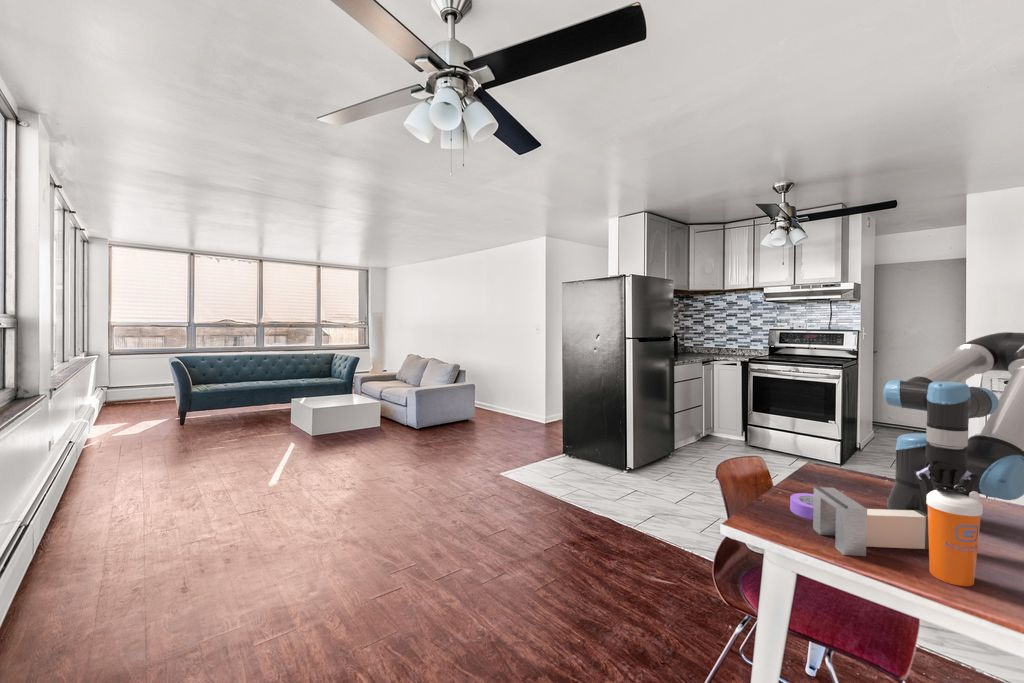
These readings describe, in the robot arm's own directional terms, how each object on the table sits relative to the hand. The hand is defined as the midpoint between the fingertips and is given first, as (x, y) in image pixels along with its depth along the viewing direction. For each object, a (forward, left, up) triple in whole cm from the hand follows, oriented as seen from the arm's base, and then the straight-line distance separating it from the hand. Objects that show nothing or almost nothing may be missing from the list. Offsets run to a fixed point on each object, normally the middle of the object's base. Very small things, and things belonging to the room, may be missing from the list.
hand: (943, 538), depth 115 cm
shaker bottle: (+9, +15, -2) cm, 18 cm away
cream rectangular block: (+12, 0, -2) cm, 12 cm away
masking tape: (+21, -18, -2) cm, 28 cm away
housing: (+24, 0, -2) cm, 24 cm away
